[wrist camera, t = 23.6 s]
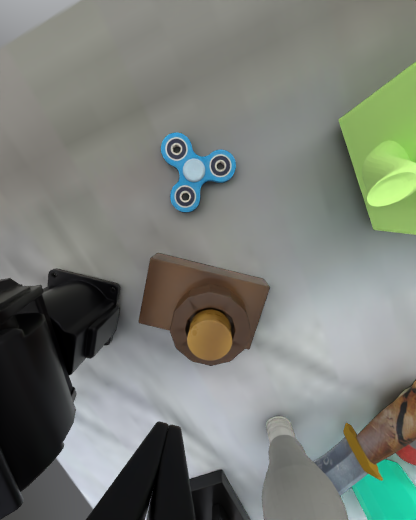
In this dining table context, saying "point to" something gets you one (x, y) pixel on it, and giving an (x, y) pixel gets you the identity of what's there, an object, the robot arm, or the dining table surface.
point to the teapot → (386, 152)
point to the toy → (194, 170)
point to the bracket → (215, 498)
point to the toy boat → (408, 448)
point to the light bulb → (296, 480)
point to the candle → (387, 494)
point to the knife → (371, 443)
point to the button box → (201, 301)
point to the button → (209, 335)
